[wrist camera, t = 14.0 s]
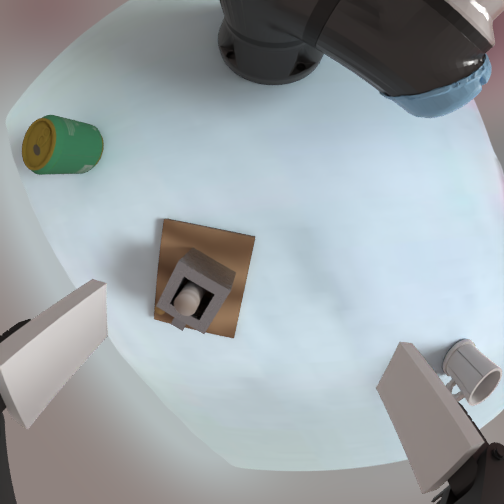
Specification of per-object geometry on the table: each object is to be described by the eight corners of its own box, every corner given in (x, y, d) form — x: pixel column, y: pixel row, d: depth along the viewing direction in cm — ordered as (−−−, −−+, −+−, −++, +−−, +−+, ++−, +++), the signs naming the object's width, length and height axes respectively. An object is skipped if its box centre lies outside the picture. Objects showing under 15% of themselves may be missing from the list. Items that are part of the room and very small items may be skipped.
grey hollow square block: (192, 247, 39) (178, 260, 32) (236, 272, 39) (230, 290, 32) (161, 308, 41) (144, 330, 34) (200, 331, 42) (190, 356, 35)
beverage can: (61, 153, 37) (13, 151, 25) (88, 116, 35) (41, 102, 23) (85, 183, 38) (35, 187, 26) (114, 144, 36) (67, 135, 25)
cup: (456, 378, 45) (481, 409, 33) (430, 379, 45) (455, 414, 33) (478, 338, 42) (508, 367, 31) (453, 336, 42) (485, 368, 30)
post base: (166, 218, 39) (140, 228, 30) (255, 236, 39) (253, 252, 30) (156, 316, 43) (134, 345, 34) (234, 335, 43) (228, 369, 34)
